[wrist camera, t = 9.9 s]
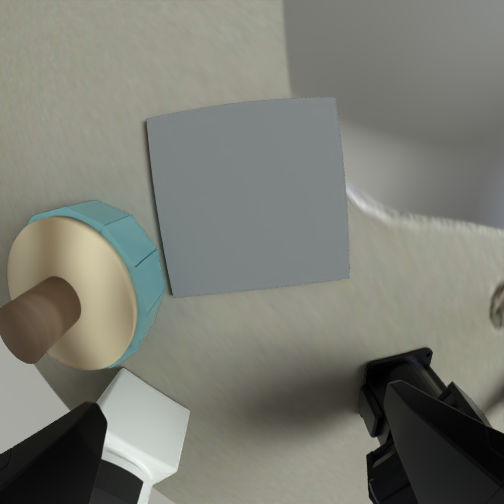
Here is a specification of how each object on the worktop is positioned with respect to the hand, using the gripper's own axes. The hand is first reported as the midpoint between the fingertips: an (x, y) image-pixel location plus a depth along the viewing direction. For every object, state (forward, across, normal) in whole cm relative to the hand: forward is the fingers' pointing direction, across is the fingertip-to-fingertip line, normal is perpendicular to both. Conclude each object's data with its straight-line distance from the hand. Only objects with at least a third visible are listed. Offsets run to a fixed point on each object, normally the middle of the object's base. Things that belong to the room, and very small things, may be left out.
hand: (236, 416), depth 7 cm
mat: (+12, -1, -5) cm, 14 cm away
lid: (+8, +11, -1) cm, 14 cm away
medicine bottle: (+13, +11, +12) cm, 21 cm away
